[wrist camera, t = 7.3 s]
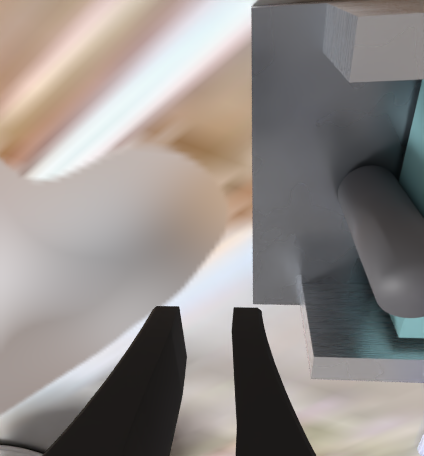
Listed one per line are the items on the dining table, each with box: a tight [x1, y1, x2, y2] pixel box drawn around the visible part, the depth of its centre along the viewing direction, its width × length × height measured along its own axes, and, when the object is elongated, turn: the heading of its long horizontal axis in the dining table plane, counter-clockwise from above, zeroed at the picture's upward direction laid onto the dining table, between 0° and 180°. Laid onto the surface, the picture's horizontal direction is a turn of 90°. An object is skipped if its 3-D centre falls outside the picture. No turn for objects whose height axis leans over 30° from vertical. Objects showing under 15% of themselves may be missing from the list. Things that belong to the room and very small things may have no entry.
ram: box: [338, 79, 424, 338], centre depth 14 cm, size 10×4×6 cm, turn 4°
